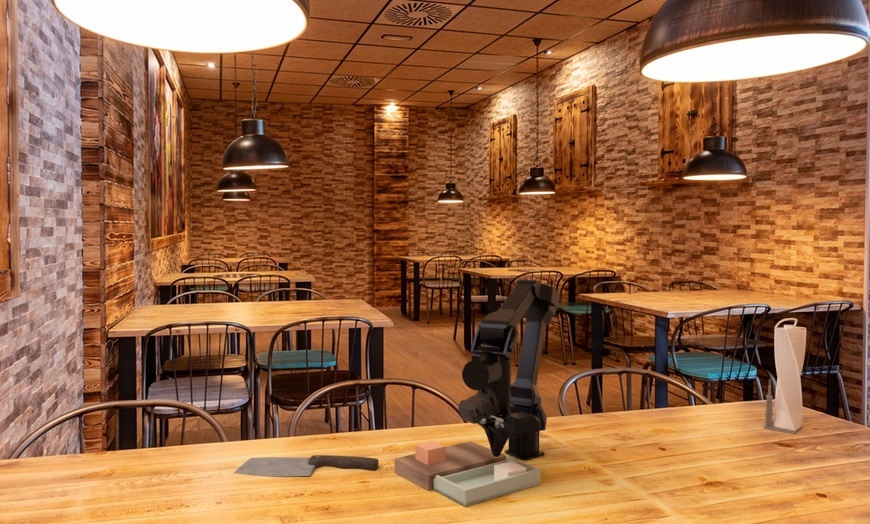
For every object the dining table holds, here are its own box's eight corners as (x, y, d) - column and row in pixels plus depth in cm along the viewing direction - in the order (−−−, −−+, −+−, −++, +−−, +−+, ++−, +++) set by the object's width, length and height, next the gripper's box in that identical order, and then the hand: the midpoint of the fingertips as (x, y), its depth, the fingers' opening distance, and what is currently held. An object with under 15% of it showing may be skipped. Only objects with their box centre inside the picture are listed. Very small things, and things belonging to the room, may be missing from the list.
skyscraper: (774, 421, 177) (776, 316, 176) (808, 427, 171) (811, 319, 170) (763, 428, 170) (766, 319, 169) (798, 434, 165) (801, 322, 164)
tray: (507, 470, 139) (507, 455, 139) (540, 484, 132) (540, 469, 131) (433, 490, 128) (433, 474, 128) (465, 507, 120) (465, 490, 120)
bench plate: (470, 454, 149) (470, 441, 149) (506, 469, 140) (506, 455, 140) (394, 472, 138) (394, 458, 138) (428, 490, 128) (428, 475, 128)
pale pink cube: (526, 468, 130) (526, 483, 130) (512, 461, 134) (512, 476, 134) (507, 472, 128) (507, 487, 128) (494, 465, 132) (494, 480, 132)
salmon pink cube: (432, 454, 140) (433, 440, 140) (445, 460, 136) (445, 446, 136) (415, 459, 137) (415, 444, 137) (427, 465, 134) (427, 450, 133)
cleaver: (380, 463, 144) (380, 454, 144) (374, 480, 134) (374, 469, 134) (246, 462, 145) (245, 453, 145) (230, 479, 136) (230, 468, 136)
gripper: (437, 377, 138) (437, 451, 139) (497, 394, 123) (496, 478, 124) (479, 371, 145) (478, 442, 145) (540, 387, 130) (539, 466, 130)
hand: (496, 456), depth 136 cm, fingers closed
